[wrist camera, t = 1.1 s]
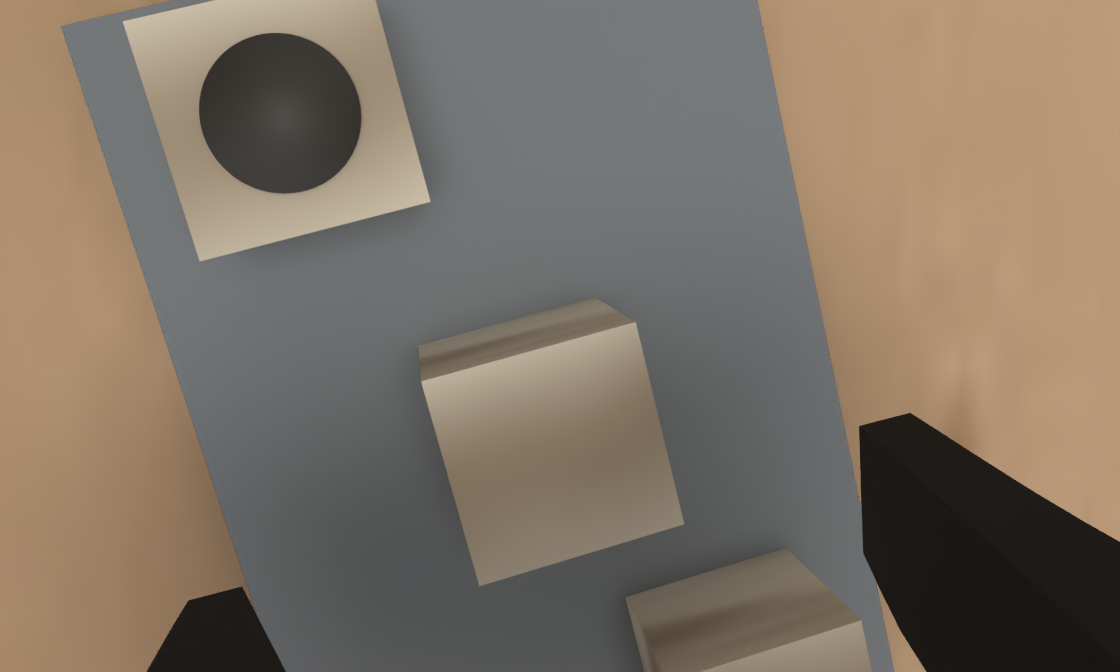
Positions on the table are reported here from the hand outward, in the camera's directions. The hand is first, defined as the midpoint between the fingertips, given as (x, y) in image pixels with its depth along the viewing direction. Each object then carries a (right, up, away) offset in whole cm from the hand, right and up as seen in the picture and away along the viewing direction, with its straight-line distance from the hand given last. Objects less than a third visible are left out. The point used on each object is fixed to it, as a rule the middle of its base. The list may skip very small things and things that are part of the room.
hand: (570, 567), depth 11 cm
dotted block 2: (+4, -5, +12) cm, 14 cm away
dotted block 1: (-5, +7, +9) cm, 13 cm away
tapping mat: (-1, +1, +11) cm, 11 cm away
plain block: (-1, +1, +11) cm, 11 cm away
